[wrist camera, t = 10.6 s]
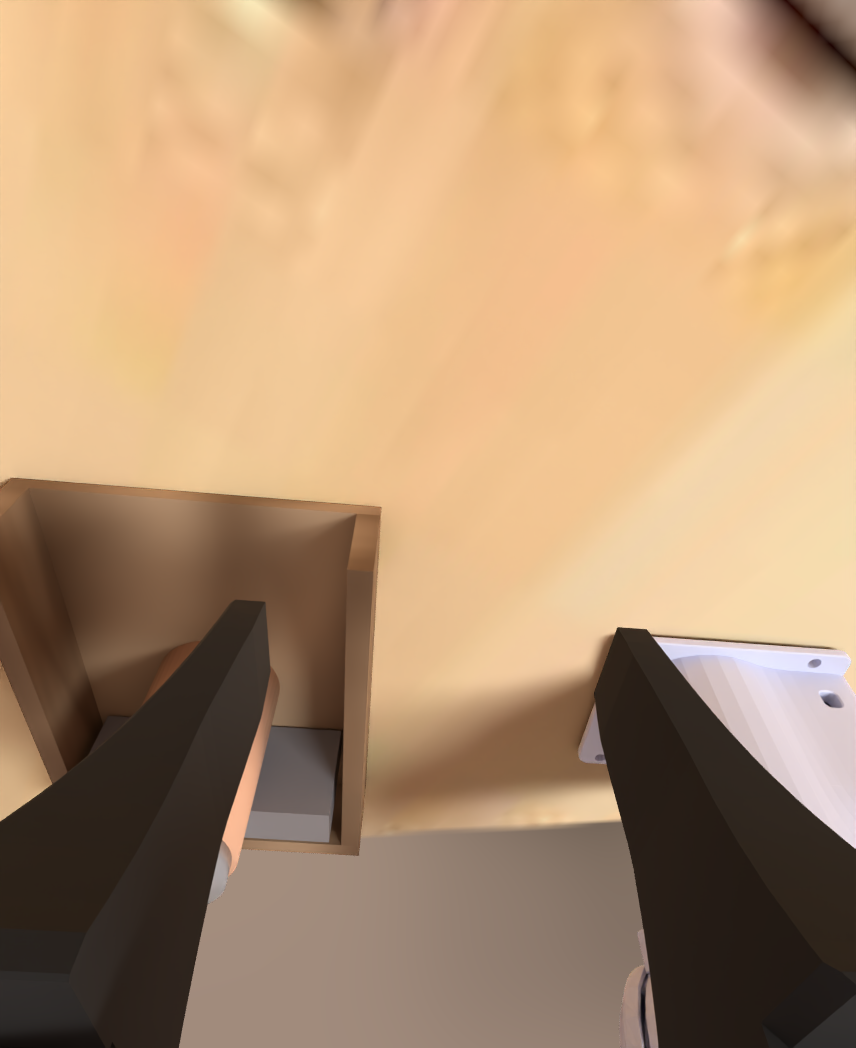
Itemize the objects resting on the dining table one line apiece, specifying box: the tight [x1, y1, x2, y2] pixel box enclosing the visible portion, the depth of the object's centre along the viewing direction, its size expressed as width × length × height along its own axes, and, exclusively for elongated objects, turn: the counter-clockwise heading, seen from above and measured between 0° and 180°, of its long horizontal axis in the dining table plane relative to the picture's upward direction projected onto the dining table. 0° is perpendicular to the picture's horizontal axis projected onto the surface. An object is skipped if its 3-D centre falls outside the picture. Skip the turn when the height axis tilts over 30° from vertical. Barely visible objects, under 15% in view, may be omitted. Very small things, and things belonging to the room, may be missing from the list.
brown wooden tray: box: [0, 478, 381, 856], centre depth 26 cm, size 13×17×4 cm
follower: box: [89, 716, 341, 842], centre depth 27 cm, size 10×2×5 cm, turn 85°
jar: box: [142, 641, 280, 904], centre depth 24 cm, size 5×5×8 cm
